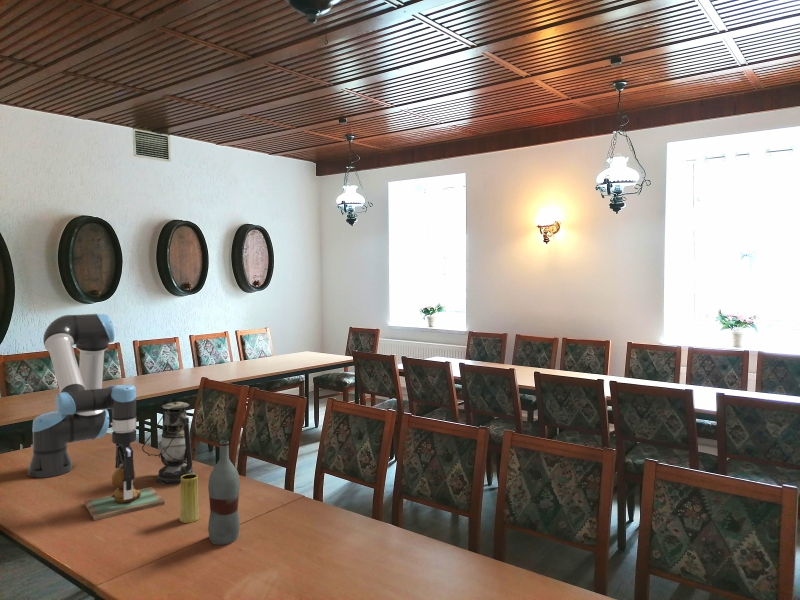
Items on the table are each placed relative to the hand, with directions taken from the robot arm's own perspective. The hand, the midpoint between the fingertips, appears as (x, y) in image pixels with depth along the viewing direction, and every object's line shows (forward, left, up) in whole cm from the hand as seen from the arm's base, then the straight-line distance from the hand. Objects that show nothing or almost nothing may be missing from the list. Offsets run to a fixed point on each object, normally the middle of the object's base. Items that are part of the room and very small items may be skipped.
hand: (124, 494), depth 198 cm
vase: (+25, +14, -4) cm, 29 cm away
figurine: (0, 0, -2) cm, 2 cm away
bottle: (+45, +18, -4) cm, 49 cm away
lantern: (-15, +20, -4) cm, 25 cm away
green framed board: (0, 0, -4) cm, 4 cm away
